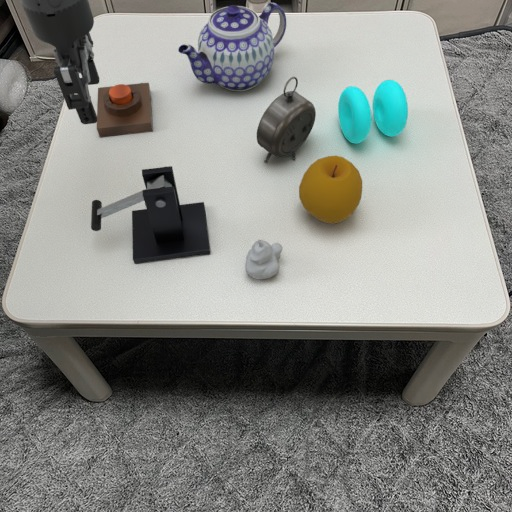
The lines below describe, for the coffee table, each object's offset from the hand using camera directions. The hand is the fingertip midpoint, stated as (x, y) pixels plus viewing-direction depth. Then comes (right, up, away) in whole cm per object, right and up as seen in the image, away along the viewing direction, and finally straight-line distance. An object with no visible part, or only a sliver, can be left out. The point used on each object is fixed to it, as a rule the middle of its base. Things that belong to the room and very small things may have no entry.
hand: (91, 102), depth 74 cm
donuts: (+45, +1, +23) cm, 50 cm away
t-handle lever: (+5, -15, +3) cm, 16 cm away
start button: (-2, +8, +24) cm, 25 cm away
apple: (+36, -15, +12) cm, 41 cm away
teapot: (+20, +15, +33) cm, 41 cm away
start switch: (-2, +6, +27) cm, 27 cm away
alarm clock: (+29, -4, +20) cm, 36 cm away
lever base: (+10, -19, +10) cm, 23 cm away
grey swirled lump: (+25, -24, +6) cm, 35 cm away
